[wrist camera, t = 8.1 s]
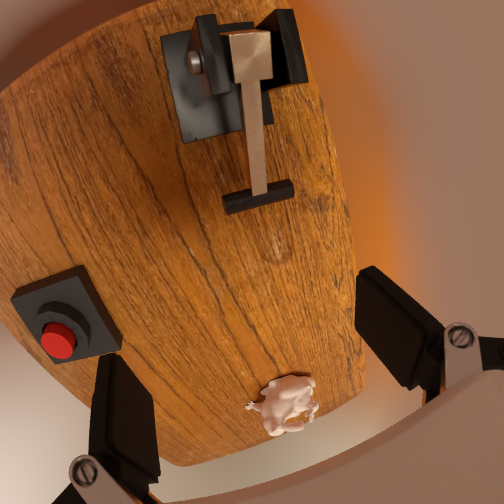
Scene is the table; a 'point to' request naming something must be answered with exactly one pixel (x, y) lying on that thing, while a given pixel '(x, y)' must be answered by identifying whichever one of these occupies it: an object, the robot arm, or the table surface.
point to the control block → (69, 312)
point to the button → (58, 340)
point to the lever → (252, 117)
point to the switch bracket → (225, 73)
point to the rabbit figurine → (286, 403)
